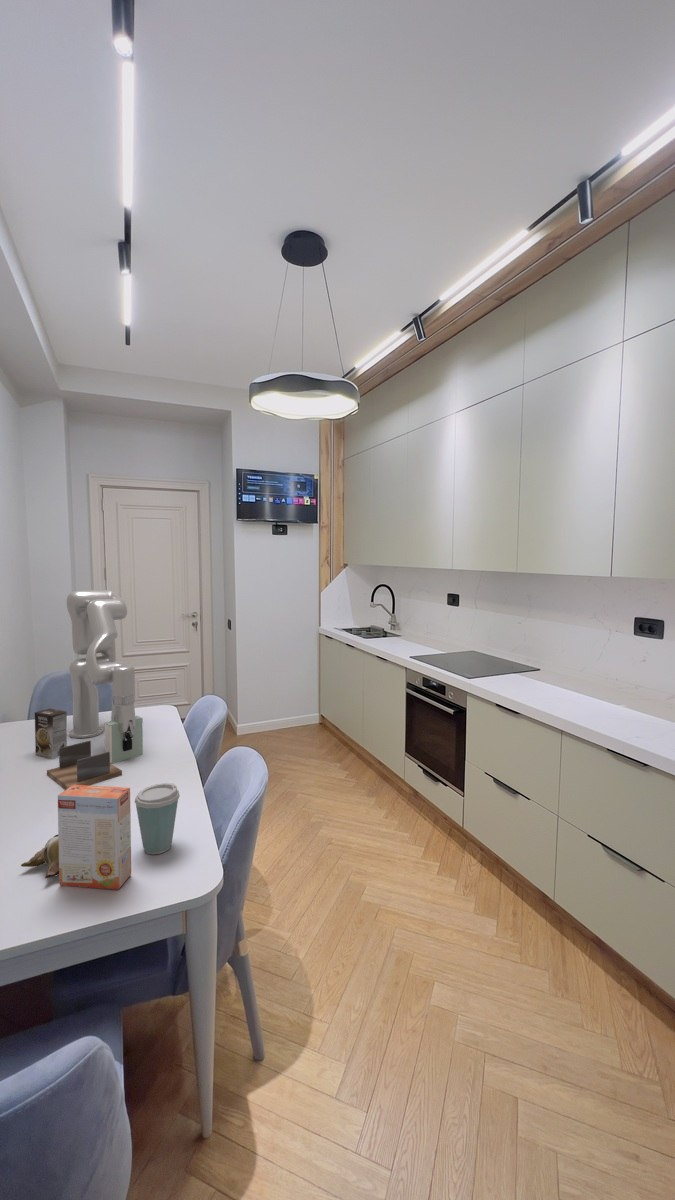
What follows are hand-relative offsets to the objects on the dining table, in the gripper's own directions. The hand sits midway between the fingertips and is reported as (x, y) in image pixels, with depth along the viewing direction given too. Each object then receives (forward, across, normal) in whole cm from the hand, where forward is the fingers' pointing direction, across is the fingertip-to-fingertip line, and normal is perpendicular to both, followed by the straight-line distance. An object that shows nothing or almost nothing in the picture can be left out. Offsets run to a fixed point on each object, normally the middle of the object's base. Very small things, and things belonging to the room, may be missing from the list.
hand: (124, 747), depth 182 cm
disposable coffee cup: (+4, +62, -21) cm, 66 cm away
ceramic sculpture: (+4, +52, -39) cm, 66 cm away
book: (+4, 0, 0) cm, 4 cm away
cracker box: (+4, +64, -37) cm, 74 cm away
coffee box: (+4, -22, -17) cm, 28 cm away
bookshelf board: (+4, +5, -16) cm, 17 cm away
